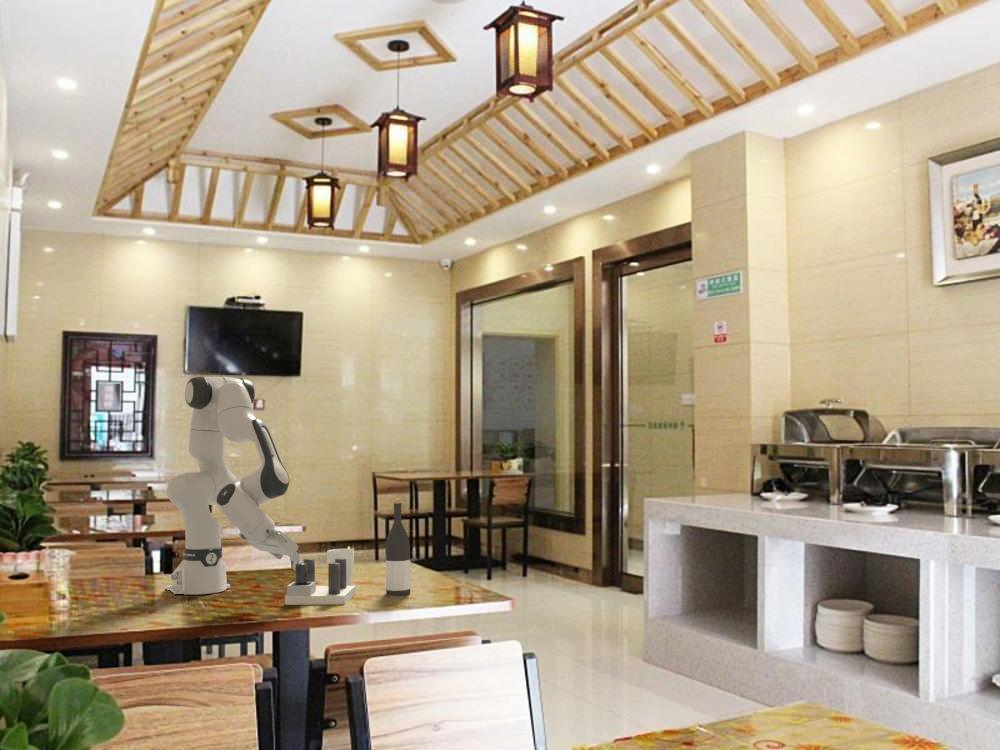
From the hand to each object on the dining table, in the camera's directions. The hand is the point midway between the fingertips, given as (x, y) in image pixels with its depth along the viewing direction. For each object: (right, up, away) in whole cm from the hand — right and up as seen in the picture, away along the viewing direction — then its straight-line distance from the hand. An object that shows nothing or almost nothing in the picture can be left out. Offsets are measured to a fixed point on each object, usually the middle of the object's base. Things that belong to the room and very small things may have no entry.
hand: (288, 559), depth 276 cm
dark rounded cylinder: (+3, -11, +2) cm, 12 cm away
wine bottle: (+31, -14, +15) cm, 38 cm away
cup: (+11, -15, +29) cm, 35 cm away
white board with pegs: (+9, -14, +7) cm, 18 cm away
